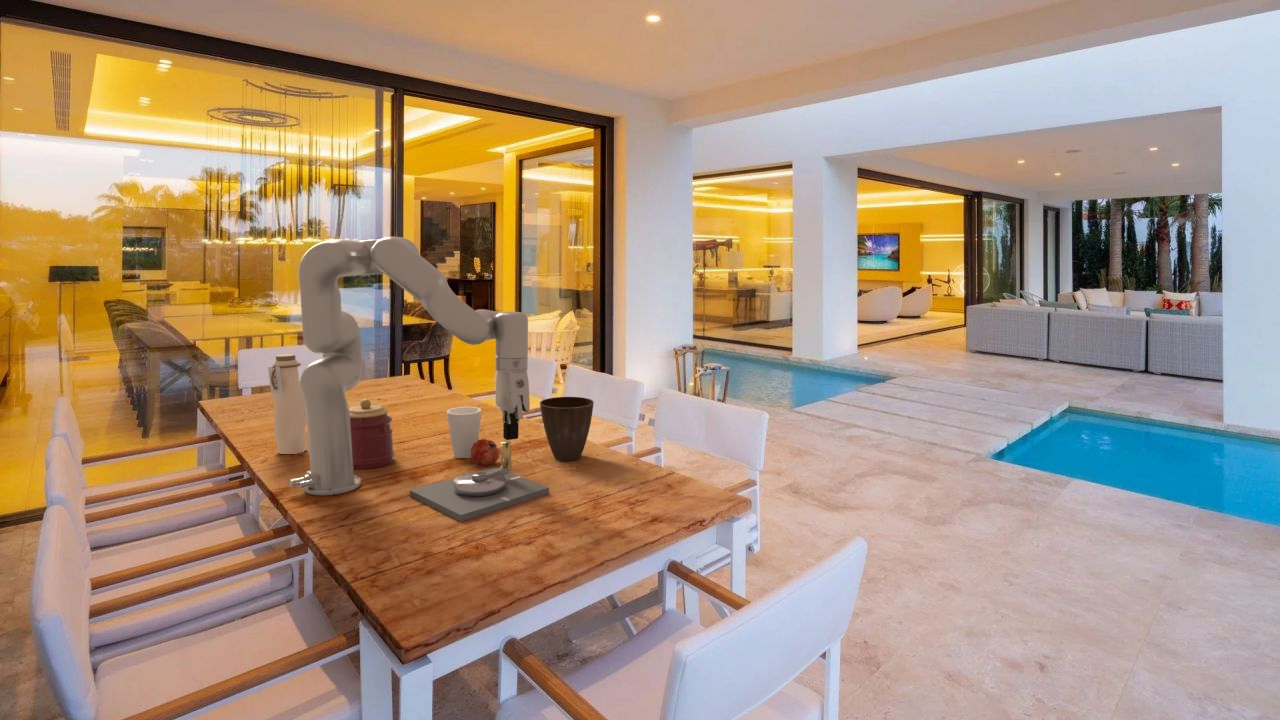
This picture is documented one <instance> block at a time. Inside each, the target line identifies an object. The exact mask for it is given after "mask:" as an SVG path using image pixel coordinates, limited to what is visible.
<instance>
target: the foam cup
mask: <svg viewBox="0 0 1280 720" xmlns="http://www.w3.org/2000/svg"><path fill="white" fill-rule="evenodd" d="M481 420H482V409H481V408H479V407H474V406H461V407H453V408H450V409H448V410H446V421H447V423H448V429H449V435H450V439H451V440H450V441H451V446H452V453H453V456H454V458H455V459H460V458H467V459H471V458H472V457H471V448H472V446H473V444H474V443H475V442H477V441H478V440H480V427H481ZM472 459H473V458H472Z"/></svg>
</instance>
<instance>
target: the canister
mask: <svg viewBox="0 0 1280 720" xmlns="http://www.w3.org/2000/svg"><path fill="white" fill-rule="evenodd" d="M349 411H350V423H351V436H352V452H353V468H354V470H365V469H366V470H367V469H368V468H369V469H376V468H381V467H384V466H387V465H389V464H392V462H393V461H394V456H395V451H394V443H393V439H394V438H393V432H394V430H393V428H392V426H391V422H392V421H393V417H392V416H390V415H389V414H388V413H389V409H388V408H385V407H384V406H383V405H381V404H372V402H371V401H370V400H369V399H365V398H364V399H362V400H361V401H360V405H354V406H352V407H349ZM386 464H387V465H386ZM380 466H381V467H380ZM375 467H376V468H375ZM369 469H368V470H369Z"/></svg>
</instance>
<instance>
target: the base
mask: <svg viewBox="0 0 1280 720" xmlns="http://www.w3.org/2000/svg"><path fill="white" fill-rule="evenodd" d="M496 468H497V467H496V466H494V467H492V468H488V469H485V470H482V471H491V470H494V469H496ZM504 476H505V480H506V487H505V489H504V490H502V491H500V492H498V493H495V494H492V495H487V496H477V497H472V496H463V495H459V494H457V493H455V492H454V484H453V481H454V479H455V478H456V477H454V478H450V479H446V480H442V481H439V482H435V483H432V484H428V485H424V486H421V487H416V488H413V489H410V490H409V496H410V497H411V498H413V499H415V500H417V501H419V502H421V503H423V504H425V505H428V506H429V507H431V508H433V509H435V510H437V511H439V512H441V513H443V514H445V515H447V516H448V517H451V518H453V519H455V520H457V521H459V522H464V521H468V520H471V519H475V518H477V517H480V516H483V515H484V516H485V515H486V514H490V513H493V512H495V511H498V510H502V509H505V508H508V507H511V506H515V505H517V504H521V503H523V502H527V501H529V500H533V499H536V498H539V497H542V496H546V495H549V494H550V487H549V486H547V485H544V484H540V483H538V482H535V481H533V480H531V479H527V478H525V477H523V476H520V475H517V474H515V473H513V472H509V474H506V475H504Z"/></svg>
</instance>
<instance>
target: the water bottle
mask: <svg viewBox="0 0 1280 720" xmlns="http://www.w3.org/2000/svg"><path fill="white" fill-rule="evenodd" d="M300 366H302V363H300V362H298V359H297V358H296V354H295V353H282V354H277V355H275V360H274V364H272V366H270V367H269V366H268V367H267V369H268V378H269V385H270V394H271V399H272V402H273V406H274V413H273V431H274V433H273V434H274V438H275V443H276V449H277V454H278V453H280V454H295V455H298V454H297V453H300V454H302V453H301V452H303V453H305V452H304V451H306V450H307V451H309V446H308V441H307V439H308V438H307V432H306V428H307V419H306V409H305V404H304V399H303V396H302V392H301V387H300V375H299V367H300ZM307 451H306V452H307ZM280 454H279V455H280Z"/></svg>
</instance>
